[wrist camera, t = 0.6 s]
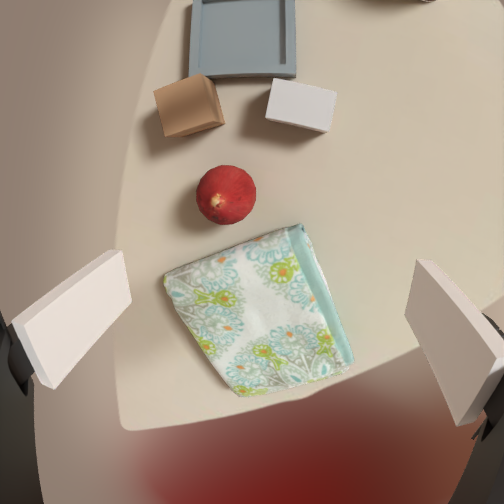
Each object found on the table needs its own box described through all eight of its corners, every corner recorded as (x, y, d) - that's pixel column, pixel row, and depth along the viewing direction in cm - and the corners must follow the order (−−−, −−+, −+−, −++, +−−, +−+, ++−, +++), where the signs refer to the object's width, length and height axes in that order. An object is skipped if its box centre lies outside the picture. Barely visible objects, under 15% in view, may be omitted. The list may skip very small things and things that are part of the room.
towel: (239, 383, 43) (233, 407, 38) (168, 268, 37) (151, 286, 32) (354, 353, 38) (359, 377, 33) (302, 213, 32) (304, 226, 27)
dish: (198, 0, 24) (193, -6, 22) (294, -6, 22) (294, -13, 21) (194, 80, 28) (188, 77, 26) (295, 77, 26) (296, 73, 25)
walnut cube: (172, 97, 29) (153, 91, 24) (214, 82, 28) (200, 73, 23) (183, 136, 30) (164, 136, 26) (225, 123, 29) (213, 120, 25)
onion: (247, 222, 33) (233, 247, 26) (201, 202, 33) (174, 221, 25) (268, 175, 31) (260, 185, 23) (219, 154, 31) (195, 159, 23)
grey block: (276, 85, 27) (273, 77, 23) (332, 98, 27) (337, 92, 23) (268, 120, 29) (265, 117, 25) (324, 133, 28) (329, 131, 25)
